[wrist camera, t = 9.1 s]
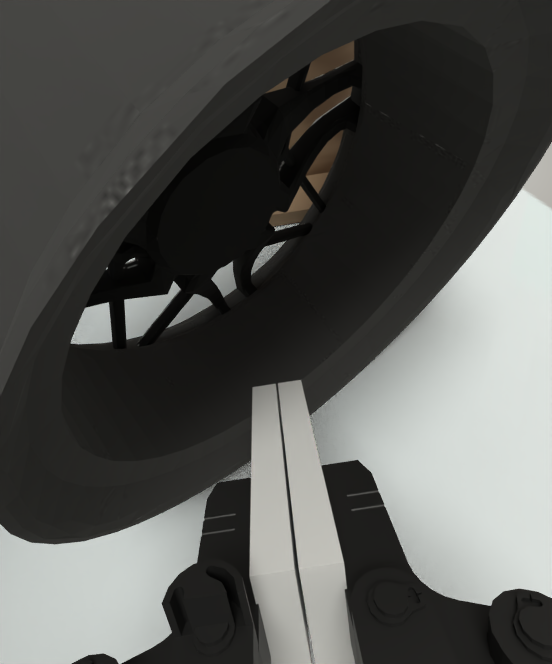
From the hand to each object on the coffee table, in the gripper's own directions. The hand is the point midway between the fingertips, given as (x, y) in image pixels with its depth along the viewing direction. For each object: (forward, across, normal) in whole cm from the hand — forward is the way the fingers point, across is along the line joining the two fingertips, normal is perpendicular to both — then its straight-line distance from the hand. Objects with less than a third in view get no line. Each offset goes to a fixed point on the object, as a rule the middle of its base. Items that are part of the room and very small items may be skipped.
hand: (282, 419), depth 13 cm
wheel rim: (+11, 0, -2) cm, 11 cm away
